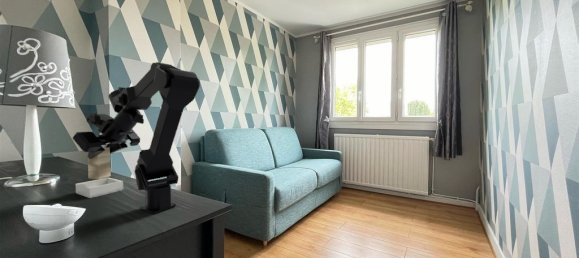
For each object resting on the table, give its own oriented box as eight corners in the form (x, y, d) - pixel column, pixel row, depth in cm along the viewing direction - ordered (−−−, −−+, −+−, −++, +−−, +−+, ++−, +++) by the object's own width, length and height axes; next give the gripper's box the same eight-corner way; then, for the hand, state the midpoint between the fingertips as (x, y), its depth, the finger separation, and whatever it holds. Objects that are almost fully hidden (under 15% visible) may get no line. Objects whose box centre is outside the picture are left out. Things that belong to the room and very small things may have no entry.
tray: (123, 190, 80) (123, 181, 80) (90, 198, 72) (89, 188, 72) (108, 186, 84) (108, 177, 84) (75, 193, 76) (75, 183, 76)
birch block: (110, 176, 79) (109, 147, 79) (98, 179, 75) (98, 149, 75) (100, 175, 80) (99, 147, 80) (88, 178, 76) (87, 148, 76)
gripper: (132, 106, 85) (107, 136, 88) (76, 103, 67) (47, 141, 69) (152, 129, 84) (126, 159, 86) (100, 132, 65) (69, 169, 68)
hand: (95, 156), depth 78 cm, fingers closed on birch block, 4 cm apart
